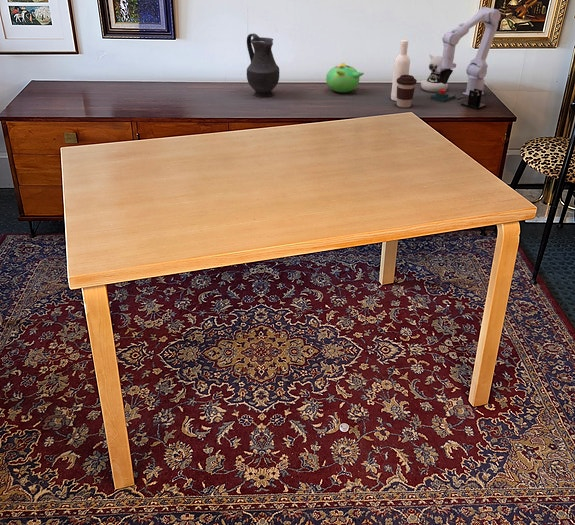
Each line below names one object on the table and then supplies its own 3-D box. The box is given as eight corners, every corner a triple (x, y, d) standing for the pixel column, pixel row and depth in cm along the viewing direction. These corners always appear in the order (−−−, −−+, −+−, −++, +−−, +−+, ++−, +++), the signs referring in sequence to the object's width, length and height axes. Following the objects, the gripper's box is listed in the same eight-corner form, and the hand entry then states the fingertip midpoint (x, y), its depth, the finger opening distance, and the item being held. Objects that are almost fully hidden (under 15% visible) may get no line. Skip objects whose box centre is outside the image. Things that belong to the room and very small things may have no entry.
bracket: (460, 105, 327) (463, 89, 323) (469, 102, 332) (471, 86, 328) (477, 110, 321) (480, 94, 317) (486, 107, 326) (489, 90, 322)
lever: (457, 101, 329) (456, 97, 329) (463, 99, 333) (462, 95, 332) (475, 96, 321) (474, 91, 320) (481, 94, 324) (480, 89, 324)
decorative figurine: (415, 89, 350) (419, 52, 340) (428, 84, 360) (433, 48, 349) (439, 95, 342) (444, 57, 332) (452, 89, 352) (457, 52, 341)
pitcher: (260, 101, 328) (260, 41, 312) (236, 92, 341) (234, 34, 325) (285, 95, 337) (286, 36, 322) (261, 86, 351) (260, 29, 335)
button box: (442, 94, 343) (443, 88, 341) (455, 98, 338) (456, 91, 336) (430, 98, 336) (431, 92, 334) (443, 102, 331) (444, 95, 330)
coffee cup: (412, 103, 329) (416, 74, 321) (414, 109, 321) (417, 79, 313) (393, 102, 330) (396, 73, 322) (394, 108, 321) (397, 78, 314)
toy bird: (351, 86, 354) (353, 59, 346) (364, 95, 340) (366, 67, 333) (321, 88, 349) (322, 61, 341) (332, 97, 335) (334, 69, 328)
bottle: (395, 95, 340) (401, 37, 324) (408, 98, 336) (415, 40, 320) (388, 99, 334) (394, 40, 318) (401, 102, 330) (408, 42, 315)
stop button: (441, 91, 337) (441, 88, 336) (447, 93, 335) (447, 90, 334) (437, 93, 335) (437, 89, 334) (443, 94, 332) (443, 91, 331)
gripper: (446, 60, 318) (442, 87, 325) (462, 56, 326) (458, 82, 334) (434, 58, 322) (431, 84, 329) (451, 53, 331) (447, 79, 338)
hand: (444, 83), depth 332 cm, fingers closed
